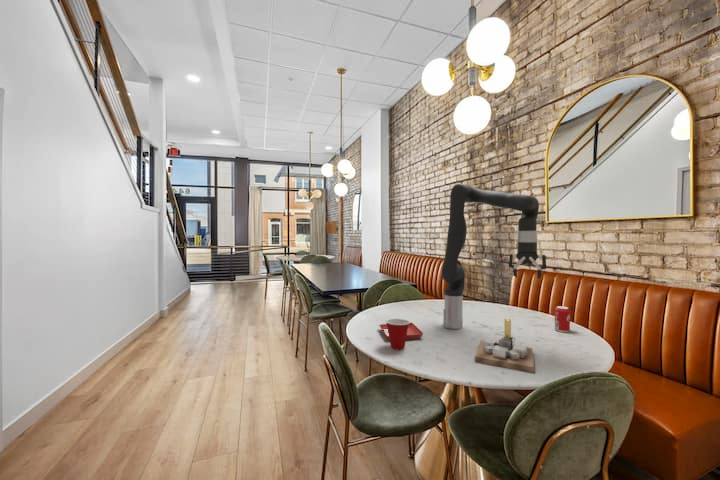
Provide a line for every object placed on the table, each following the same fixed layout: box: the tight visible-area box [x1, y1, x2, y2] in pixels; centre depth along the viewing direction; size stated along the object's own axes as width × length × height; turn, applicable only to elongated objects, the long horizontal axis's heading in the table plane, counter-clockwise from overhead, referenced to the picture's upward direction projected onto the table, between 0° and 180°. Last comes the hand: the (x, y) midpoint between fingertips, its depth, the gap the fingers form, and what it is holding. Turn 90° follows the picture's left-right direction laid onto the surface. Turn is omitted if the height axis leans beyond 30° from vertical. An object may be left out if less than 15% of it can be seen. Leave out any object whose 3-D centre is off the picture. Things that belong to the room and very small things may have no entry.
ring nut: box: [483, 334, 528, 359], centre depth 120 cm, size 15×15×4 cm
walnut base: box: [474, 338, 535, 374], centre depth 121 cm, size 20×20×6 cm
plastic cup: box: [385, 318, 411, 350], centre depth 132 cm, size 11×11×12 cm
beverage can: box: [554, 305, 571, 333], centre depth 151 cm, size 6×6×12 cm
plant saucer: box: [378, 322, 424, 341], centre depth 148 cm, size 18×18×3 cm
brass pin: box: [504, 318, 512, 340], centre depth 124 cm, size 2×2×12 cm
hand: (527, 277), depth 132 cm, fingers open, 8 cm apart
